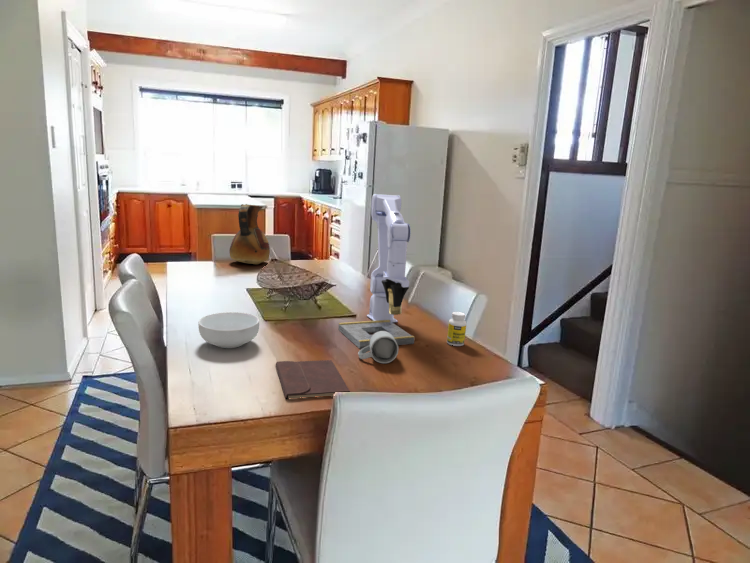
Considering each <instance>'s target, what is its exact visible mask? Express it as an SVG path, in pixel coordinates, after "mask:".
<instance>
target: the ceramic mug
mask: <svg viewBox="0 0 750 563" xmlns="http://www.w3.org/2000/svg"><path fill="white" fill-rule="evenodd" d="M372 335H373V336H372V337H371V339H370V345H369V346H367V347H364V348H361V349H360V350H359V351H358V352H357V355H358V358H359V359H360V360H366V359H370V358H372V359H373V360H374V361H375V362H377V363H378V364H389V363H391V362H393V361H394V360H395V359H396V358H397V356H398V354H399V345H398V344H397V342H396V340H395V339H394V337H393V336H392V335H391V334H390V333H389V332H386V331H378V332H376V333H373V334H372Z"/></svg>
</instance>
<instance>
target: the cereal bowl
mask: <svg viewBox="0 0 750 563" xmlns="http://www.w3.org/2000/svg"><path fill="white" fill-rule="evenodd" d="M259 330H260V319H259V317H258V316H256V315H254V314H251V313H247V312H246V313H245V312H234V311H232V312H227V311H225V312H217V313H211V314H207V315H206V316H203V317H201V318H200V319H199V320H198V333H199V335H200V337H201V338H202V339H203V341H205V342H207V344H210V345H214V346H216V347H218V348H222V349H235V348H240V347H241V346H243V345H245V344H246V343H247V344H248V343H250V342H251V341H253V339H254V338H256V336H257V335H258V333H259Z"/></svg>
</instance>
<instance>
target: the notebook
mask: <svg viewBox="0 0 750 563" xmlns="http://www.w3.org/2000/svg"><path fill="white" fill-rule="evenodd" d="M275 368H276V372H277V375H278V378H279V381H280V384H281V389H282V392H283V394H284V397H285V399H286V398H287V399H288V398H300V397H301V398H302V397H315V396H331V397H334V396H333V394H334V393H335V392H351V391H350V389H349V387H348V385H347V384H346V382H345V380H344V379H343V377H342V375H341V374H340V372H339V370H338V368H337V367H336V365H335V363H334V361H333V360H332V359H321V360H304V361H302V360H301V361H299V360H298V361H293V360H283V361H282V360H281V361H276V362H275ZM287 396H288V397H287Z"/></svg>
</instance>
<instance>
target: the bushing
mask: <svg viewBox="0 0 750 563" xmlns="http://www.w3.org/2000/svg"><path fill="white" fill-rule="evenodd" d="M388 292H389V314H392V315H395V316H396V315H397V316H398V315H402V309H403V308H402V307H403V306H402V304H401V306H400V307H394V305H393V292H392V289H391V287H389V288H388Z"/></svg>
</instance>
